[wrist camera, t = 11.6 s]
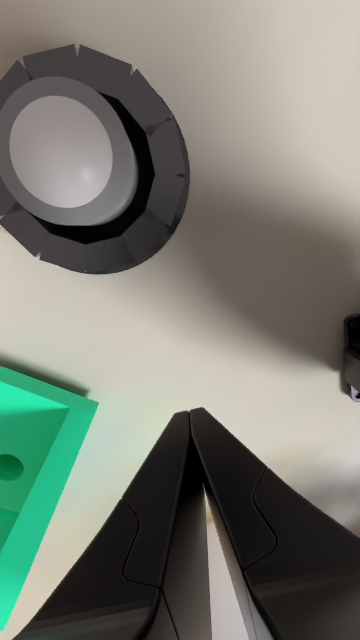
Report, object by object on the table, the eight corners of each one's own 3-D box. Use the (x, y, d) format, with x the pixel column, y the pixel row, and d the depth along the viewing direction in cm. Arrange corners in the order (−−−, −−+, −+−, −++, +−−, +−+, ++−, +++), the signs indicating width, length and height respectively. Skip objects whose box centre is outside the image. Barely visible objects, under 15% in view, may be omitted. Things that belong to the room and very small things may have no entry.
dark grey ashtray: (165, 41, 16) (164, 7, 14) (205, 251, 19) (210, 255, 17) (-38, 90, 16) (-74, 66, 14) (35, 290, 20) (16, 299, 17)
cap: (125, 109, 16) (108, 58, 11) (150, 214, 18) (144, 209, 13) (27, 132, 17) (-32, 92, 12) (60, 235, 18) (20, 237, 13)
